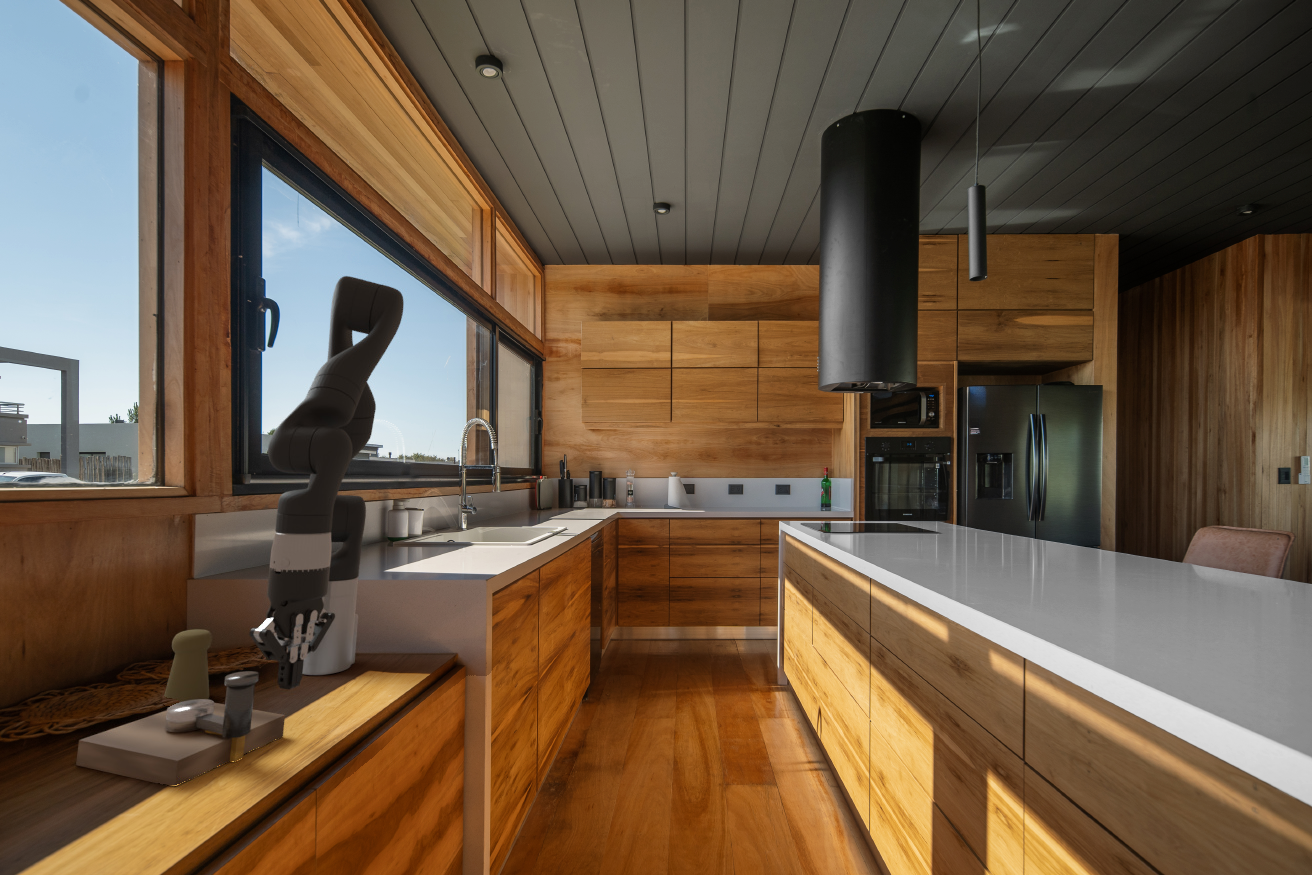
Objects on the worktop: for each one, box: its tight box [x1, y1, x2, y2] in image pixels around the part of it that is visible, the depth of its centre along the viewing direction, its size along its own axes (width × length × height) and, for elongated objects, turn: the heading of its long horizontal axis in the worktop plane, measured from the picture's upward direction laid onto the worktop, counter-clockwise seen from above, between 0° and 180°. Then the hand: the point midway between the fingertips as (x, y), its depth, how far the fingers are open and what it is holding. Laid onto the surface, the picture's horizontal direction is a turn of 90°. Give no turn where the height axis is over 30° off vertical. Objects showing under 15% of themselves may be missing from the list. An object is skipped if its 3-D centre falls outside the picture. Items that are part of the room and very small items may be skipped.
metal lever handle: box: [165, 670, 260, 738], centre depth 78 cm, size 13×5×8 cm, turn 70°
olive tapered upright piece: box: [163, 628, 213, 703], centre depth 97 cm, size 6×6×11 cm
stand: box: [75, 702, 286, 785], centre depth 79 cm, size 15×17×3 cm
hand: (289, 687), depth 84 cm, fingers closed
